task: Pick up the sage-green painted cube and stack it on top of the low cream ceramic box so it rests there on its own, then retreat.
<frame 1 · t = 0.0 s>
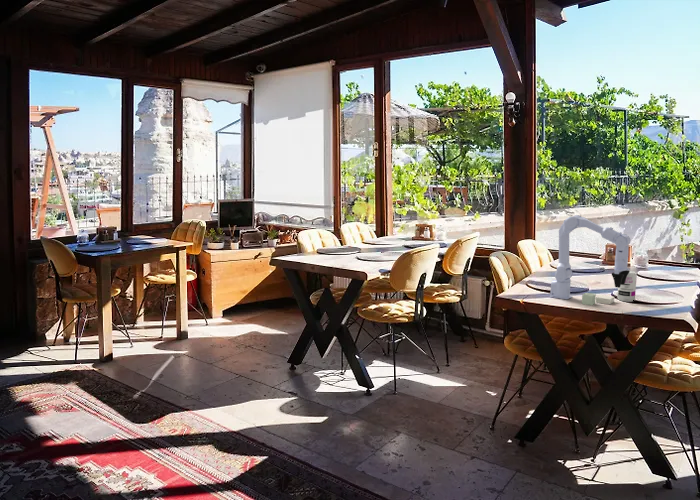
hand: (619, 285, 286), 10 cm above the table, fingers open, 7 cm apart
cream box: (604, 302, 295), on the table
supplement can: (625, 300, 299), on the table
green cube: (588, 303, 292), on the table
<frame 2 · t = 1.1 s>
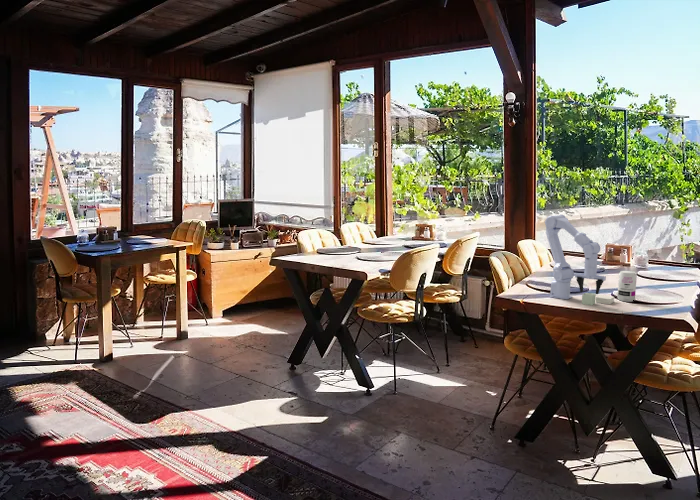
hand: (589, 292, 291), 6 cm above the table, fingers open, 7 cm apart
nothing on the table moved.
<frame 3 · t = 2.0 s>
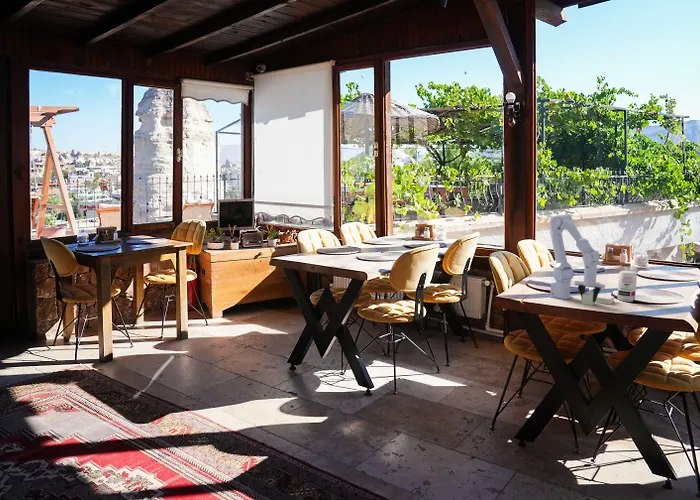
hand: (588, 300, 292), 1 cm above the table, fingers closed on green cube, 5 cm apart
green cube: (588, 303, 292), on the table, touching gripper
everything else where it was.
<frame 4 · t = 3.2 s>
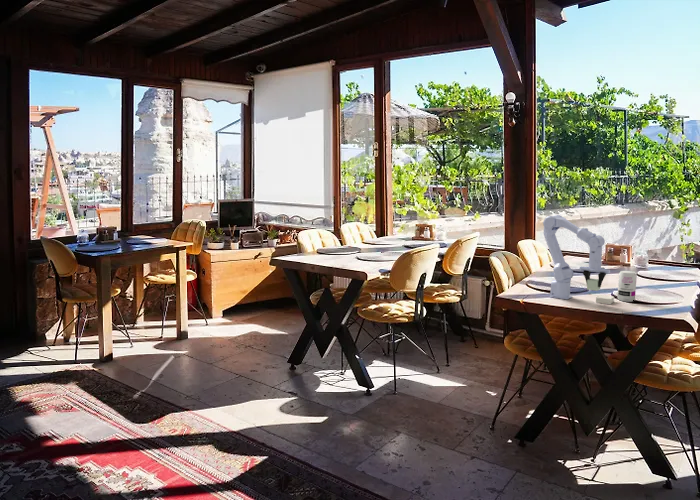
hand: (593, 286, 292), 9 cm above the table, fingers closed on green cube, 5 cm apart
green cube: (593, 289, 292), point 7 cm above the table, touching gripper
everything else where it was.
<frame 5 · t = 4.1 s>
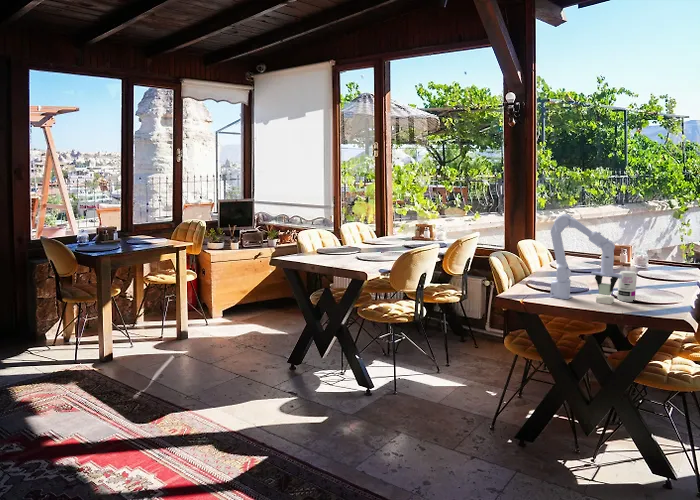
hand: (605, 290, 294), 6 cm above the table, fingers closed on green cube, 5 cm apart
green cube: (605, 293, 295), point 4 cm above the table, touching gripper
everything else where it was.
when the fingers open (6 cm above the table, at t = 4.7 s): green cube drops 1 cm, resting on cream box.
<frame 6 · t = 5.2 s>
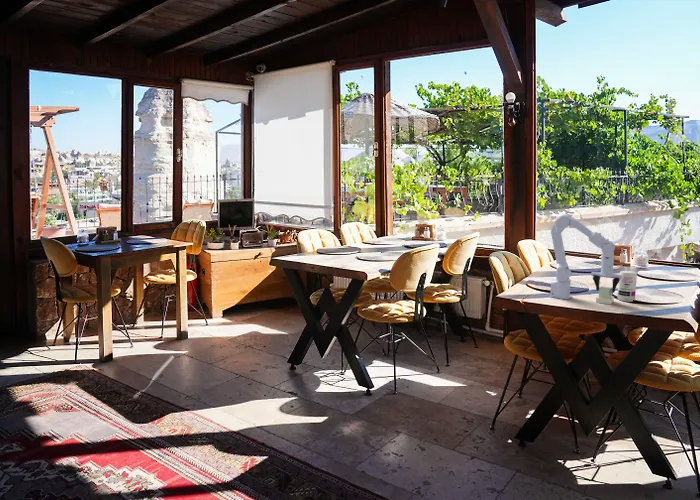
hand: (605, 291, 295), 6 cm above the table, fingers open, 7 cm apart
cream box: (604, 302, 296), on the table, touching green cube
green cube: (605, 297, 295), point 3 cm above the table, touching cream box
everything else where it was.
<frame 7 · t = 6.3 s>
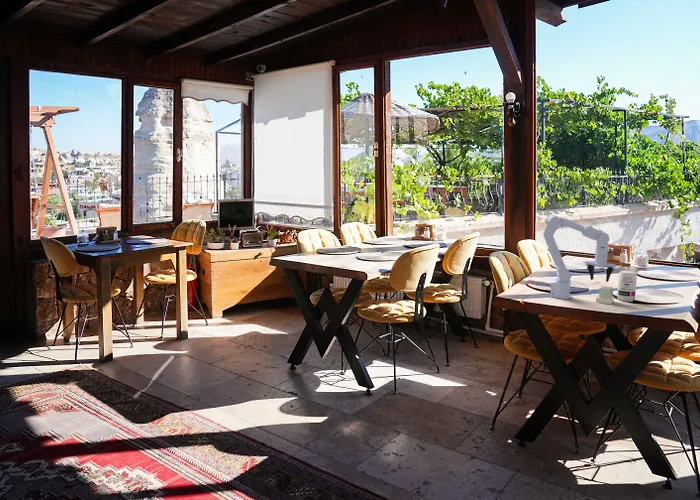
hand: (599, 280, 300), 10 cm above the table, fingers open, 7 cm apart
nothing on the table moved.
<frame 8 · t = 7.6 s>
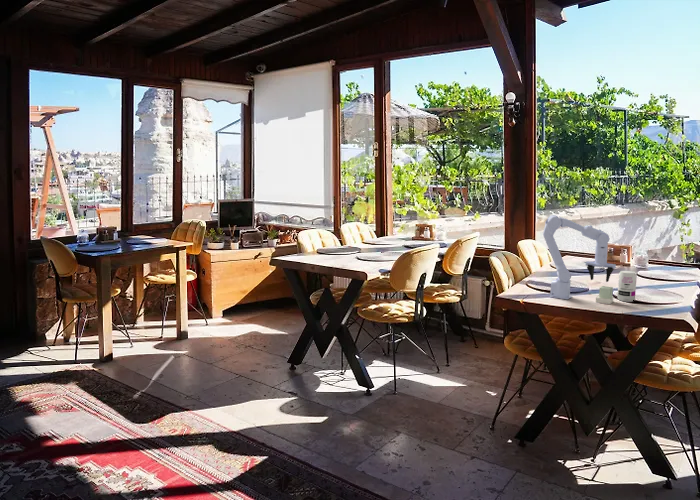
hand: (599, 280, 300), 10 cm above the table, fingers open, 7 cm apart
nothing on the table moved.
at the end: green cube 0.6 cm off-centre on the cream box, point 3.0 cm above the cream box's base; green cube tilted 0°; green cube touching cream box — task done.
